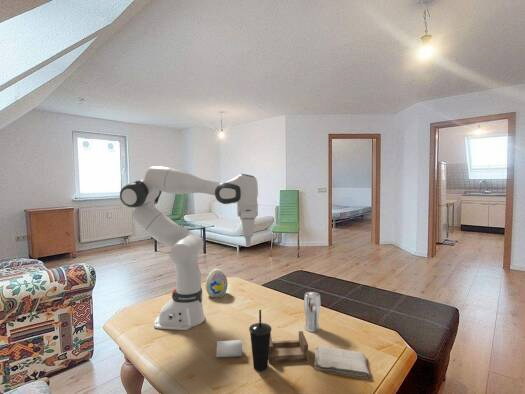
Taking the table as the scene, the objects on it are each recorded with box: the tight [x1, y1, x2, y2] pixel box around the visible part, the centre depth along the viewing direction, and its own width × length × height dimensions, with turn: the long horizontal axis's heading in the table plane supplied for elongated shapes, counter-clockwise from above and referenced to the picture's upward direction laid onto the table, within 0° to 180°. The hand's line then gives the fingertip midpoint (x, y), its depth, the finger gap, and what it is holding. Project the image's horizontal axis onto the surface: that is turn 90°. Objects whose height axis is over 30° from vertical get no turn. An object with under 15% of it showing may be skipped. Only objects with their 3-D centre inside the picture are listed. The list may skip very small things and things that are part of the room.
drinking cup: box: [248, 309, 272, 372], centre depth 95 cm, size 8×8×20 cm
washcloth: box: [313, 345, 371, 379], centre depth 97 cm, size 12×18×3 cm, turn 77°
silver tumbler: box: [303, 291, 321, 333], centre depth 120 cm, size 7×7×15 cm
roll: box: [216, 339, 243, 358], centre depth 102 cm, size 9×5×5 cm, turn 94°
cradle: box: [268, 330, 309, 364], centre depth 102 cm, size 14×9×6 cm, turn 94°
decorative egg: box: [205, 268, 229, 299], centre depth 157 cm, size 12×12×15 cm
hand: (247, 243), depth 119 cm, fingers open, 8 cm apart
